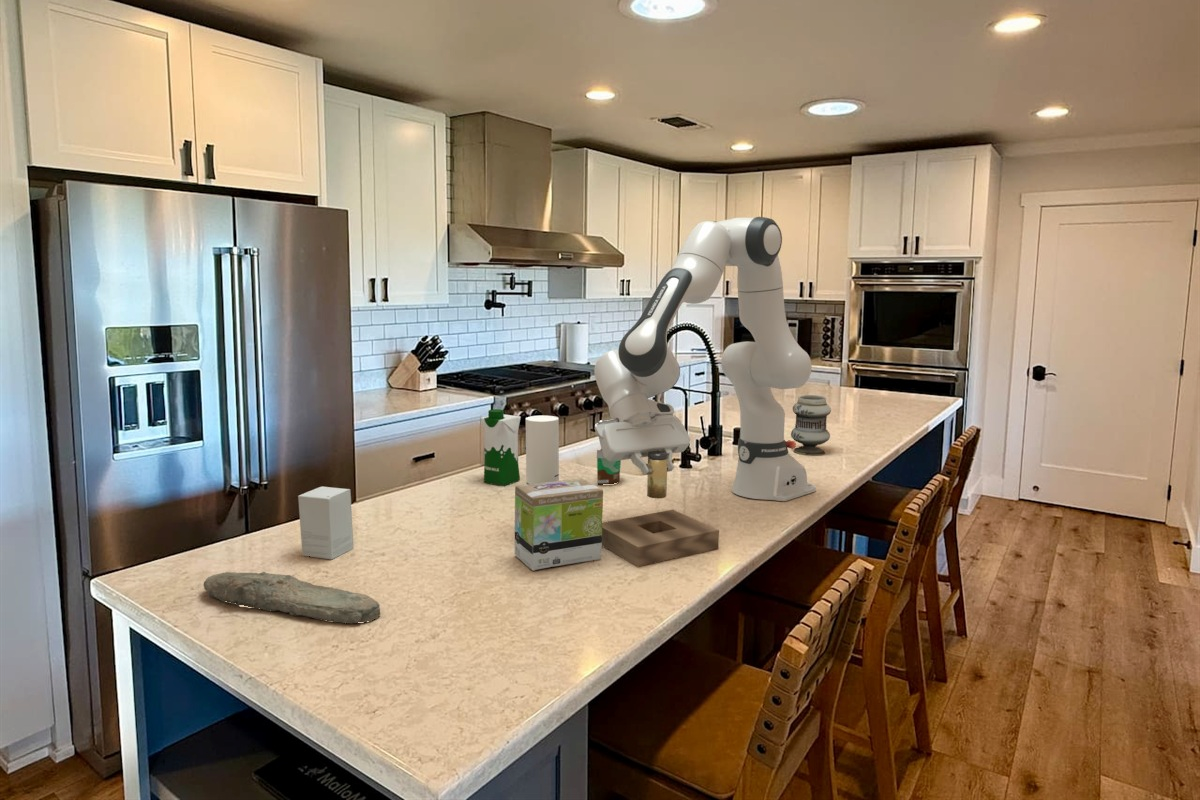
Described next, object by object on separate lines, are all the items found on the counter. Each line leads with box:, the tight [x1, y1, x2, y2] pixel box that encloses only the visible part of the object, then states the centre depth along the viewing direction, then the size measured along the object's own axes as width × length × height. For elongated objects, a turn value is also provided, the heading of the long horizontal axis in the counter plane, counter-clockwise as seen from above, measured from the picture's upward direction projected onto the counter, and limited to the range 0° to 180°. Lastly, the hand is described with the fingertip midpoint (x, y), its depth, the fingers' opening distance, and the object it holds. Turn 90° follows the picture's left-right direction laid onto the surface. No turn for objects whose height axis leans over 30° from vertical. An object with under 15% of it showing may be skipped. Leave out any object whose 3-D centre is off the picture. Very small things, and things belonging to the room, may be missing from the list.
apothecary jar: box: [790, 394, 832, 457], centre depth 242 cm, size 12×12×18 cm
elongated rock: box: [203, 571, 381, 625], centre depth 129 cm, size 35×5×10 cm
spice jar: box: [646, 451, 668, 499], centre depth 156 cm, size 4×4×9 cm
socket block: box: [602, 509, 720, 567], centre depth 158 cm, size 20×16×4 cm
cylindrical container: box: [525, 415, 560, 485], centre depth 166 cm, size 7×7×25 cm
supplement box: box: [297, 486, 355, 560], centre depth 153 cm, size 7×7×13 cm
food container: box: [596, 448, 622, 486], centre depth 207 cm, size 12×6×10 cm, turn 168°
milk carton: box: [480, 408, 521, 487], centre depth 205 cm, size 9×9×20 cm
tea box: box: [514, 478, 604, 572], centre depth 150 cm, size 15×10×15 cm, turn 117°
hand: (659, 471), depth 155 cm, fingers closed on spice jar, 4 cm apart
